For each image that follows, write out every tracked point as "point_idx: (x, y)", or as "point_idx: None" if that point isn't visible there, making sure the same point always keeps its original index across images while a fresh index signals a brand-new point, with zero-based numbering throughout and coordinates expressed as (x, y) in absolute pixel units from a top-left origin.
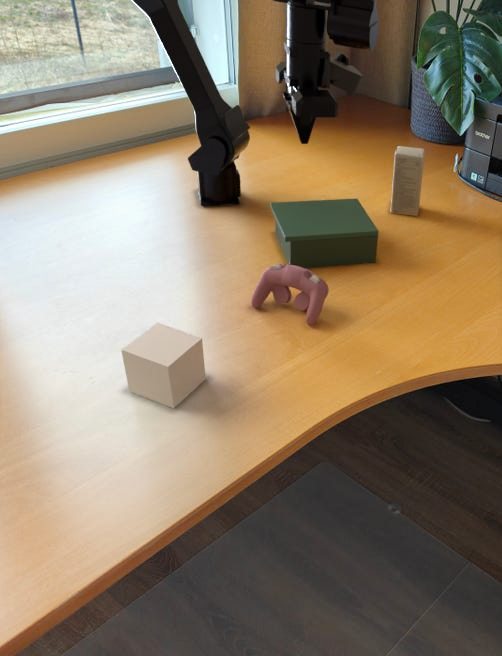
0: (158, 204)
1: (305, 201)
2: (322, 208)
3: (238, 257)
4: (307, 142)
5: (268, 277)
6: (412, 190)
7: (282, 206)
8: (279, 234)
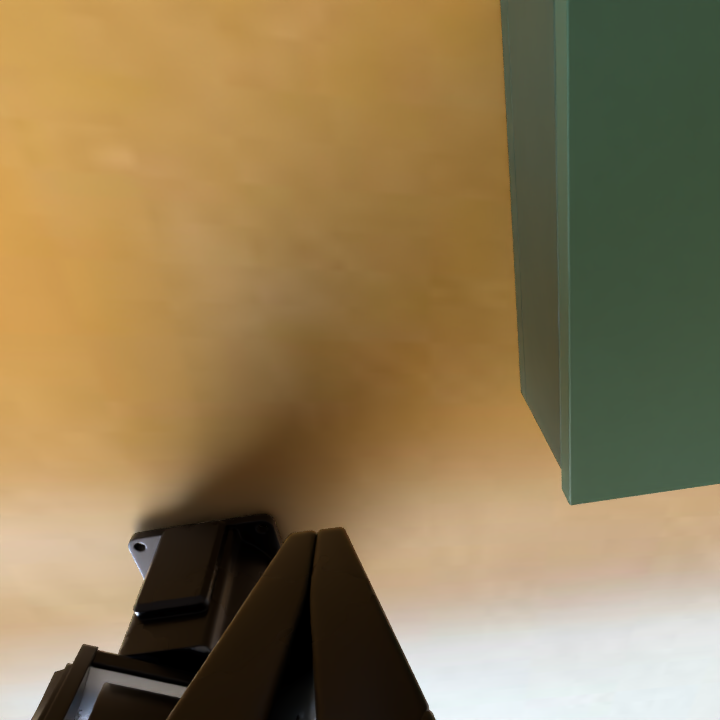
0: None
1: (577, 345)
2: (692, 251)
3: (679, 501)
4: (345, 538)
5: None
6: None
7: (625, 456)
8: None
